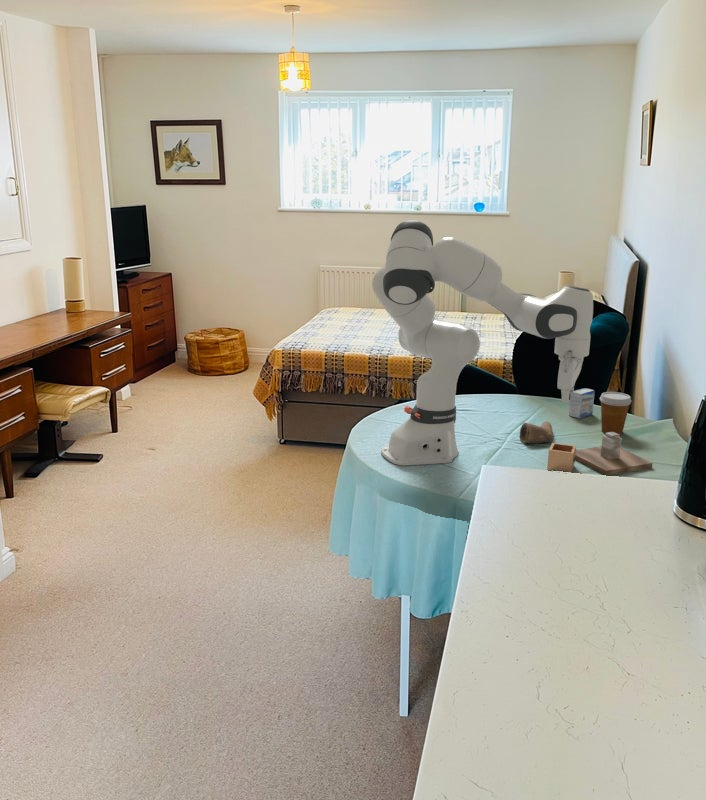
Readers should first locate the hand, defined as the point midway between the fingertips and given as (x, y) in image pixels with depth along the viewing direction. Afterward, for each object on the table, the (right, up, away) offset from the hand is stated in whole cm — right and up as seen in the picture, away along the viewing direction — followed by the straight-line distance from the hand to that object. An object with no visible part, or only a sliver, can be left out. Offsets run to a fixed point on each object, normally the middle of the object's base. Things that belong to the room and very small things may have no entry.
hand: (567, 397), depth 199 cm
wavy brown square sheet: (+15, -18, +11) cm, 26 cm away
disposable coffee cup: (+25, -11, +36) cm, 45 cm away
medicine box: (+20, -6, +53) cm, 57 cm away
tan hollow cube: (0, -20, +6) cm, 20 cm away
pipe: (-1, -13, +31) cm, 33 cm away
